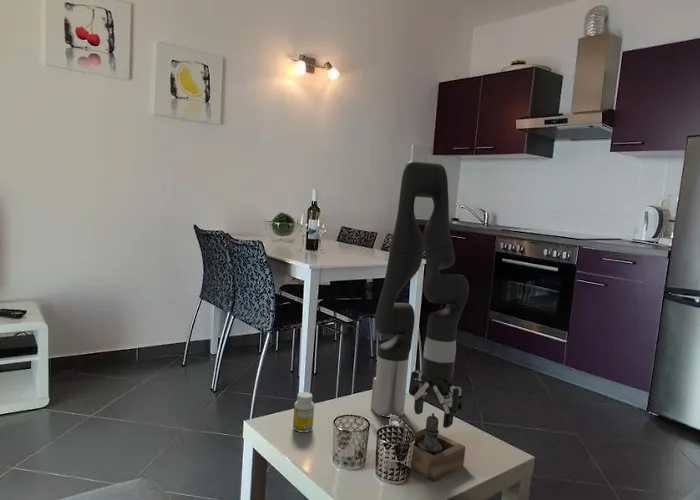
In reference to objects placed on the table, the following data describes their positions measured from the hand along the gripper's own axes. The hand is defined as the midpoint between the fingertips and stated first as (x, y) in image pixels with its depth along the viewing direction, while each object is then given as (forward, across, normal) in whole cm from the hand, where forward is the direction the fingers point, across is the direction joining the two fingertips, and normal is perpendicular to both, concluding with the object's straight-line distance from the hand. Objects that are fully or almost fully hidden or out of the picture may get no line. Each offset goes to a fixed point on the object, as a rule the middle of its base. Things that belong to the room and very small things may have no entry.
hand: (432, 420), depth 126 cm
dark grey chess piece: (+10, 0, 0) cm, 10 cm away
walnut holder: (+11, 0, 0) cm, 11 cm away
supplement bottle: (+12, -32, -14) cm, 37 cm away
